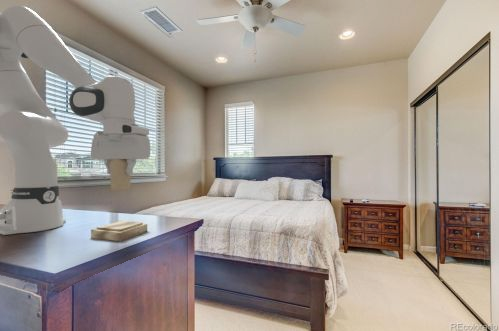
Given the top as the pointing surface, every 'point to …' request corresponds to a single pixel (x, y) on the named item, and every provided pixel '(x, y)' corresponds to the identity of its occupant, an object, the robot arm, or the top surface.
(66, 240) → the top surface
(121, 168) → the candle
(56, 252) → the top surface
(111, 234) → the stand
